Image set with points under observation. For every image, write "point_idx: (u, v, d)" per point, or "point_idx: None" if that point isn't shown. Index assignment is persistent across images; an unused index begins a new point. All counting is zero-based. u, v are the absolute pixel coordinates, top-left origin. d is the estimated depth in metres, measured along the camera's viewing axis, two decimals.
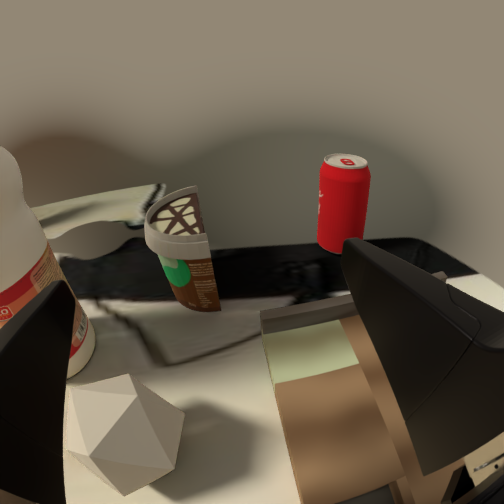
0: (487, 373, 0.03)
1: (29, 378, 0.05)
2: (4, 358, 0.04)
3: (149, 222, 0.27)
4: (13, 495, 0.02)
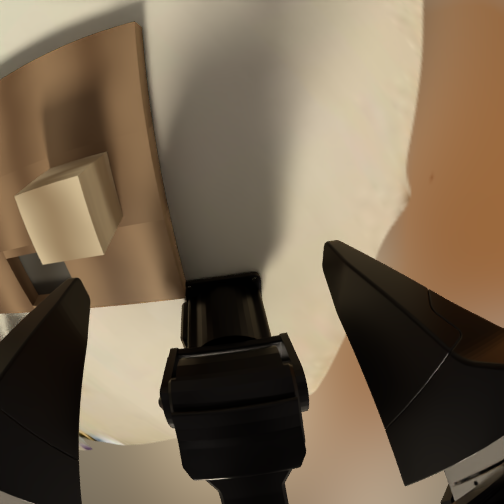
0: (465, 387, 0.03)
1: (45, 380, 0.05)
2: (20, 359, 0.04)
3: None
4: (29, 503, 0.02)
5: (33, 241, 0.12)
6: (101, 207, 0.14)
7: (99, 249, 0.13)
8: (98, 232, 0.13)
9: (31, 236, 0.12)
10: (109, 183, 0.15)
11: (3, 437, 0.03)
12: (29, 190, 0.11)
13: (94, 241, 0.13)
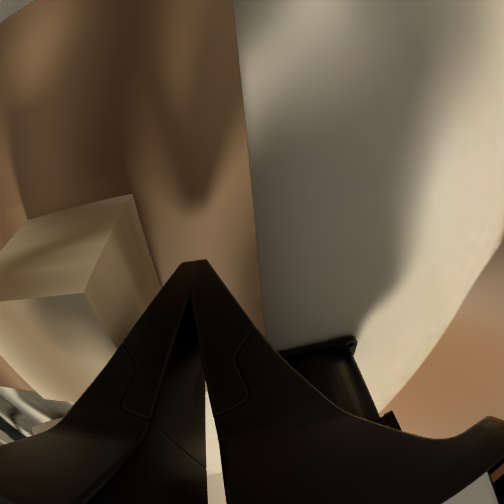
0: None
1: (189, 380, 0.05)
2: (172, 358, 0.05)
3: None
4: None
5: (19, 373, 0.06)
6: None
7: None
8: None
9: (13, 366, 0.05)
10: (142, 256, 0.08)
11: (164, 468, 0.03)
12: None
13: None
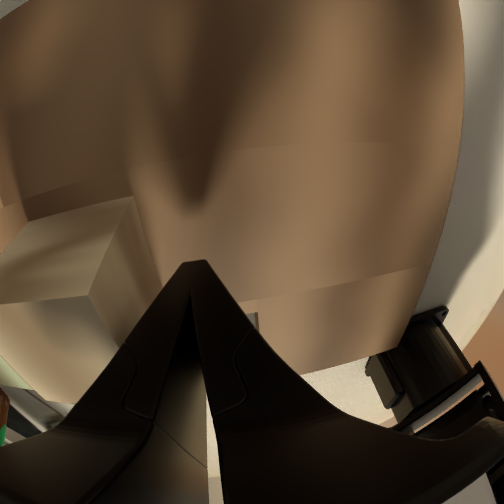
0: None
1: (190, 380, 0.05)
2: (174, 358, 0.05)
3: None
4: None
5: (21, 375, 0.06)
6: None
7: None
8: None
9: (15, 368, 0.06)
10: (143, 258, 0.08)
11: (166, 468, 0.03)
12: None
13: None
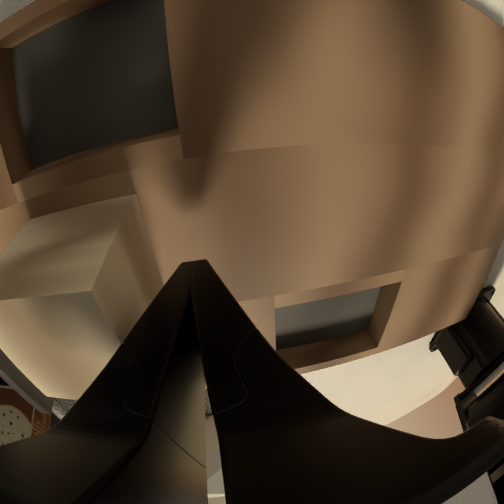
0: None
1: (189, 380, 0.05)
2: (173, 358, 0.05)
3: None
4: None
5: (22, 371, 0.06)
6: None
7: None
8: None
9: (17, 364, 0.06)
10: (146, 255, 0.09)
11: (164, 468, 0.03)
12: None
13: None
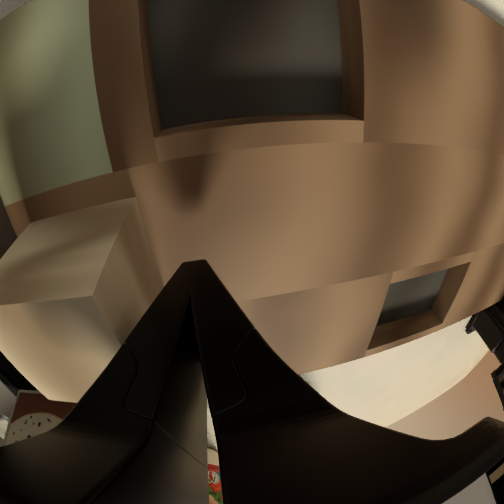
0: None
1: (190, 379, 0.05)
2: (175, 358, 0.05)
3: None
4: None
5: (24, 374, 0.06)
6: None
7: None
8: None
9: (18, 368, 0.06)
10: (146, 258, 0.09)
11: (166, 468, 0.03)
12: None
13: None
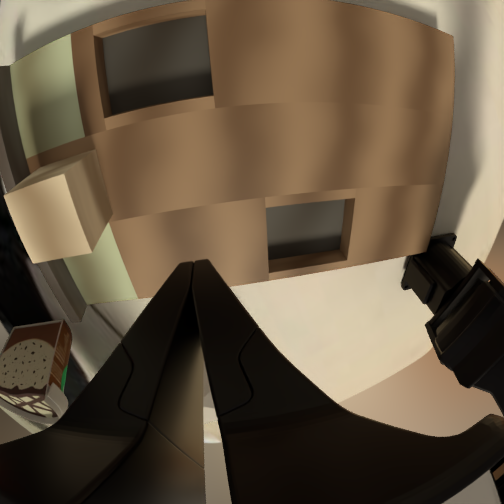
0: None
1: (186, 380, 0.05)
2: (170, 359, 0.05)
3: (45, 417, 0.19)
4: None
5: (23, 240, 0.12)
6: (88, 205, 0.13)
7: (87, 247, 0.13)
8: (85, 230, 0.13)
9: (21, 235, 0.12)
10: (98, 180, 0.15)
11: (161, 468, 0.03)
12: (18, 189, 0.10)
13: (82, 239, 0.13)
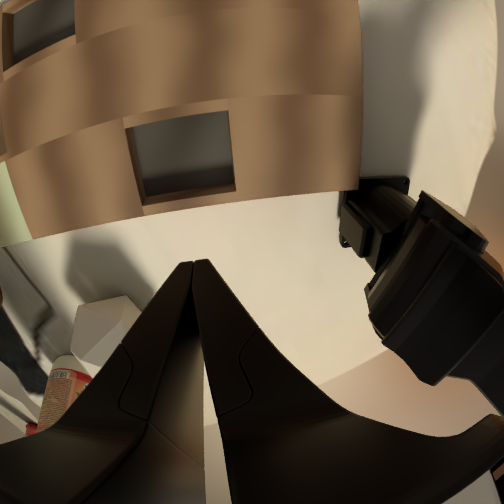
0: None
1: (186, 380, 0.05)
2: (170, 359, 0.05)
3: None
4: None
5: None
6: None
7: None
8: None
9: None
10: None
11: (161, 467, 0.03)
12: None
13: None
